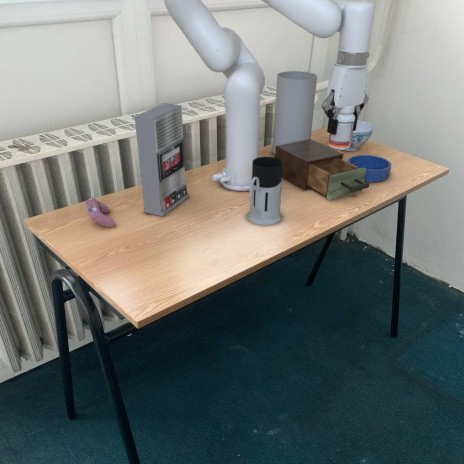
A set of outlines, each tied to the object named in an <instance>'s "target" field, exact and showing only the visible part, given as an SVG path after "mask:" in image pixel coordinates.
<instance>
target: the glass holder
mask: <svg viewBox="0 0 464 464" xmlns="http://www.w3.org/2000/svg"><path fill="white" fill-rule="evenodd" d="M282 167H283V162H282V161H281V160H280V159H278V158H275V156H274V157H273V156H260V157H259V156H258V158H256V159H254V160H253V163H252V179H251V183H250V190H248V191H249V204H250V205H249V207H250V209H249V214H248V215H247V218H248V220H249V221H250V222H251V223H253V224H256V225H261V226H271V225H272V226H273V225H276V224H277V223H280V222H281V221H282V216H281V203H282V190H283V178H282Z"/></svg>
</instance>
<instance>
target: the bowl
mask: <svg viewBox="0 0 464 464" xmlns="http://www.w3.org/2000/svg"><path fill="white" fill-rule="evenodd" d="M346 162H349V163H351V164H353V165H355V166H357V167H358V169H359V168H363V167H364V168H366V173H365V178H364V183H377V182H382V181H386V180H387V179H389V177H390V174H391V171H392V165H393V164H392V162H391V161H390V160H389V159H387V158H384V157H382V156H377V155H371V154H356V155H353V156H350V157H348V158H347V160H346Z"/></svg>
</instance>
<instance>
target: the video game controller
mask: <svg viewBox="0 0 464 464" xmlns="http://www.w3.org/2000/svg"><path fill="white" fill-rule="evenodd" d="M84 203H85V205H86V206H85V209H86V210H87V213H88V214H89V216H90V218H91V219H92V220H93V221H94V222H95V224H98V225H101V226H103V227H106V228H112V227H114V226H115V221H114V219H112V218H111V217H109V216H108V215H105V214H108V213H109V212H110V208H109V207H108V205H107V204H105V203H103V202H100V201H99V200H98V199H96V198H94V197H91V198H87V200H85V202H84Z"/></svg>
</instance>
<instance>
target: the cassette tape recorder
mask: <svg viewBox="0 0 464 464" xmlns="http://www.w3.org/2000/svg"><path fill="white" fill-rule="evenodd" d="M183 122H184V121H183V106H182V105H180V104H175V103H168V102H163V103H161V104H158V105H156V106H154V107H152V108H150V109H147V110H146V111H144V112H141V113H139V114H137V115H134V124H135V134H136V143H137V152H138V153H137V154H138V162H139V171H140V178H141V189H142V190H141V191H142V198H143V199H142V200H143V207H144V208H143V213H147V214H150V215H155V216H159V217H164V216H166V215H167V214H169V212H171V211H173V209H175V208H176V207H177V206H179V205H180V204H181V203H183V201H185V200H186V199H188V198H189V193H188V192H187V191H188V190H187V188H188V187H187V183H186V182H187V181H186V164H185V162H186V161H185V147H184V146H185V142H184V126H183V125H184V124H183Z"/></svg>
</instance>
